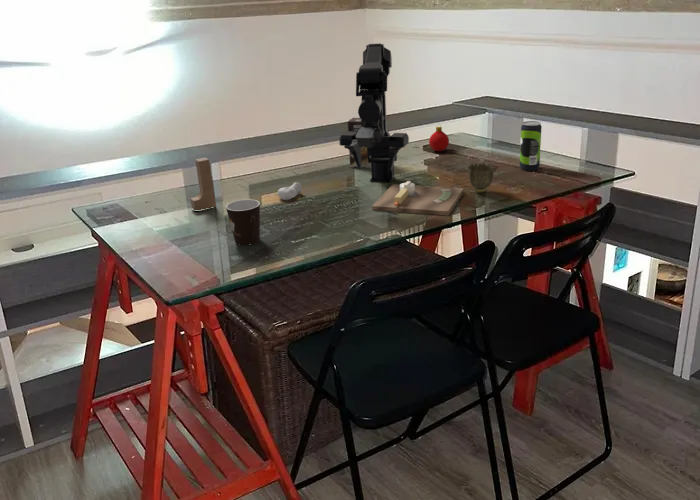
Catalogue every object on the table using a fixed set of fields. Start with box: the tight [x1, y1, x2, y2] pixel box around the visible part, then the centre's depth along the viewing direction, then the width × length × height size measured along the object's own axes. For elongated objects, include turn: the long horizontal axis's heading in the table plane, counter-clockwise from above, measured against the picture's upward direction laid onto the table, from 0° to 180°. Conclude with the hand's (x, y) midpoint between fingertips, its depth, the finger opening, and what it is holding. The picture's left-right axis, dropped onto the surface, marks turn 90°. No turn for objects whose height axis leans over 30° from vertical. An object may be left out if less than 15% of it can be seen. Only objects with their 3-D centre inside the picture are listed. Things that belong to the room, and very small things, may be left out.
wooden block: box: [189, 157, 217, 210], centre depth 197 cm, size 7×3×15 cm, turn 121°
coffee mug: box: [225, 198, 261, 246], centre depth 172 cm, size 12×9×10 cm
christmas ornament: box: [428, 123, 450, 152], centre depth 242 cm, size 7×7×10 cm
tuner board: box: [371, 184, 464, 216], centre depth 195 cm, size 22×20×1 cm
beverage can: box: [519, 120, 542, 172], centre depth 215 cm, size 6×6×15 cm
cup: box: [468, 162, 495, 194], centre depth 198 cm, size 8×7×8 cm
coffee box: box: [347, 117, 371, 169], centre depth 229 cm, size 9×6×16 cm
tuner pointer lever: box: [394, 180, 416, 206], centre depth 193 cm, size 14×4×3 cm, turn 159°
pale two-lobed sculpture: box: [277, 181, 303, 201], centre depth 205 cm, size 4×8×5 cm
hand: (375, 169), depth 190 cm, fingers open, 9 cm apart
